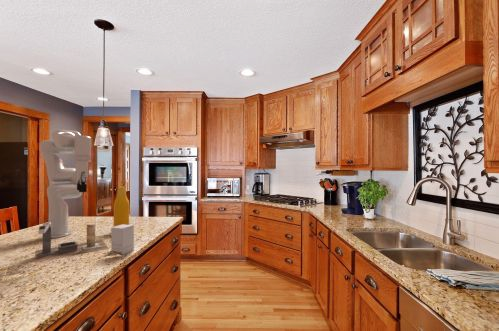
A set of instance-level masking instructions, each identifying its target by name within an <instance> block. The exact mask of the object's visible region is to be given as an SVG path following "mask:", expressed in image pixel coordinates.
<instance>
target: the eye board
mask: <svg viewBox="0 0 499 331" xmlns="http://www.w3.org/2000/svg"><path fill="white" fill-rule="evenodd" d="M41 243H42V249H38V250H35V255H34V263H39V262H45V261H52V260H56V259H62V258H66V257H67V258H68V257H72V256H78V255H83V254H89V253H94V252H99V251H105V250H109V249H110V248H109V247H108V245H107V244H106V243H105V242H104V240H103V239H98V240H95V246H93V247H87V241H85V242H79V243H78V242H77V241H76V240H74V241H69V242H62V243H59V244H57V246H55V247H54V246H53V247H52V238H51V227H49V228H48V229H47V231H46V232H45V233H43V234H42V242H41Z"/></svg>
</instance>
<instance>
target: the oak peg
mask: <svg viewBox="0 0 499 331" xmlns="http://www.w3.org/2000/svg"><path fill="white" fill-rule="evenodd" d="M95 241H96V223H87V224H86V242H87V247H93V246H95Z"/></svg>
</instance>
